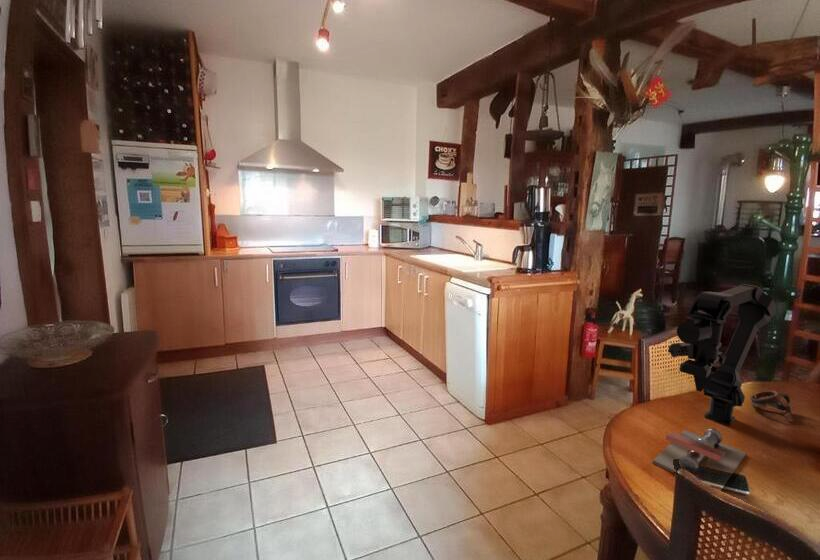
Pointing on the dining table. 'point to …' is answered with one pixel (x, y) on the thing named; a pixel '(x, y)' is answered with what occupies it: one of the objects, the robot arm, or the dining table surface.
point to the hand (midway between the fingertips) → (698, 390)
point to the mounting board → (676, 452)
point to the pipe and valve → (695, 458)
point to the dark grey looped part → (773, 402)
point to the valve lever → (696, 446)
